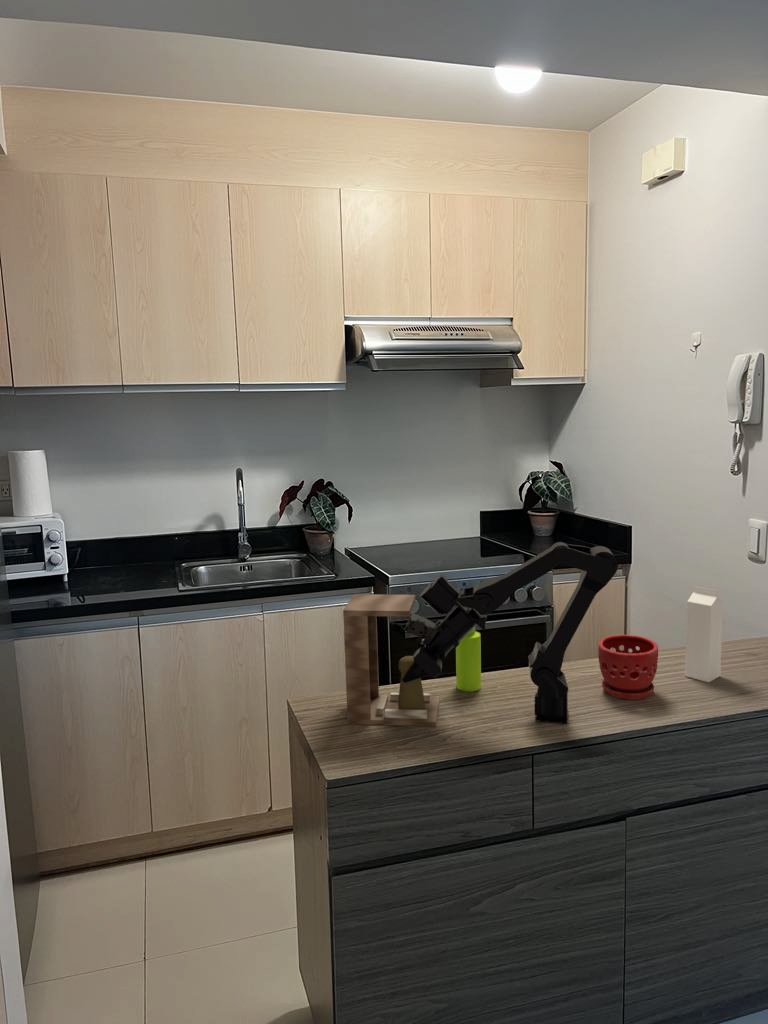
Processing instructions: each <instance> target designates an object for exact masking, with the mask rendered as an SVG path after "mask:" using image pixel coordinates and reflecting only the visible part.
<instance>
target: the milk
mask: <svg viewBox="0 0 768 1024" xmlns="http://www.w3.org/2000/svg"><path fill="white" fill-rule="evenodd" d="M723 613H724V600H723V599H722V598H721V597H719V591H718V590H717V589H712V588H707V587H701V586H696V585H694V586H693V592H692V593H691V595H690V596H689V598H688V600H687V602H686V632H685V633H686V634H685V658H684V659H685V663H684V666H685V667H684V676H685V677H687V678H690V679H695V680H698V681H702V682H705V683H710V682H712V681H714V680H715V679H717V678H719V677H721V668H722V661H721V660H722V644H723V642H722V641H723V618H724V615H723Z"/></svg>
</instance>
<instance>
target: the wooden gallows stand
mask: <svg viewBox="0 0 768 1024" xmlns="http://www.w3.org/2000/svg"><path fill="white" fill-rule="evenodd" d="M415 602H416V594H382V593H381V594H378V593H377V594H372V593H371V594H370V593H369V594H365V593H360V594H359V593H358V594H357V593H356V594H353V595H352V597H351V598H350V600H349V601H348V603H347V604H346V606H345V607H344V608H343V611H342V613H343V614H342V615H343V639H344V662H345V663H344V664H345V686H346V688H345V690H346V716H347V724H349V725H351V724H353V725H377V724H390V725H389V726H409V725H411V726H412V725H415V726H414V727H419V726H420V727H436V726H437V721H438V720H437V719H438V715H439V709H440V703H441V701H440V697H431V693H429V692H428V693H426V692H423V694H424V700H425V707H424V708H422V709H420V710H408V709H400V708H399V707H398V700H399V692H390V694H388V693H385V694H384V693H382V694H381V695H380V683H379V682H380V681H379V655H378V654H379V653H378V651H379V649H378V647H379V646H378V622H377V617H398V618H399V617H403V618H404V617H407V618H408V617H409V618H410V616H411V614H412V611H413V608H414V606H415V604H416V603H415ZM389 695H390V696H389ZM391 724H393V725H391Z"/></svg>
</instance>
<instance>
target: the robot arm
mask: <svg viewBox="0 0 768 1024" xmlns="http://www.w3.org/2000/svg"><path fill="white" fill-rule="evenodd" d="M561 565H563V566H569V567H571V568H574V569H578V570H580V574H579V578H578V579H579V580H578V583H577V585H576V587H575V588H574V590H573V593H572V594H571V596H570V598H569V599H568V602H567V603H566V605H565V607H564V609H563V611H562V613H561V614H560V617H559V619H558V620H557V622H556V624H555V627H554V628H553V629H552V631H551V633H550V635H549V637H548V638H547V640H546V641H545V642H544V643H542V644H541V643H540V642H538V641H536V642H535V643H534V647H533V650H532V652H531V653H530V654H529V655H528V656H527V657H528V668H529V675H530V680H531V682H532V683H533V685H536V687H537V692H535V693H534V715H535V716H536V718H535V720H536V722H541V723H545V722H546V723H553V724H554V723H555V724H568V723H569V722H568V721H569V709H568V705H569V701H568V699H569V697H568V695H569V694H568V692H569V687H568V686H569V685H568V683H567V682H568V681H567V679H566V675H565V673H564V672H563V671H562V666H563V663H564V657H565V653H566V652H567V651H566V650H567V649H568V647H569V645H570V643H571V641H572V639H573V637H574V635H575V634H576V632H577V630H578V628H579V626H580V625H581V623H582V622H583V619H584V617H585V615H586V614H587V612H588V610H589V608H590V607H591V604H592V603H593V601H594V599H595V598H596V595H597V594H598V593H599V592H601V591H602V589H604V588H605V587H606V586H607V585H608V584H609V583H610V582H611V580H612V579H613V577H614V576H615V575H616V573H617V572H618V569H619V562H618V560H617V558H616V557H615V555H614V553H612V551H611V550H610V549H609V548H607V547H606V546H604V545H603V546H602V545H597V546H593V547H588V546H585V545H576V544H569V543H565V542H562V541H557V542H555V543H553V544H552V545H551V546H550V547H548V548H546V549H545V550H544V551H542V552H540V553H537V555H535V556H534V557H532V558H530V559H528V560H526V561H525V562H524V563H522V564H520V565H517V567H515V568H512V570H510V571H508V572H507V573H504V574H501V575H499V576H498V575H497V576H493V577H490V578H488V579H485V580H483V581H480V582H478V583H476V585H474V586H471V587H464V588H463V587H462V588H459V589H457V588H456V587H455V586H454V585H453V584H452V583H451V582H450V581H449V580H448V579H447V577H446V576H445V575H443V574H441V575H439V577H437V578H436V579H434V580H433V581H431V582H429V584H427V586H426V587H425V588H424V589H423V591H422V592H420V594H419V598H420V599H421V600H422V601H423V602H424V603H426V605H428V607H430V608H431V609H432V610H433V611H434V612H435V613H436V614H437V615H440V614H441V615H442V616H443V615H447V614H448V615H447V616H445V618H443V619H438V620H437V621H436V622H433V621H431V620H430V619H428V618H426V617H423V616H421V615H419V614H417V613H414V612H411V614H410V617H409V619H408V620H407V623H406V625H405V628H404V631H405V632H406V633H407V634H410V635H411V634H412V635H413V636H416V637H418V638H417V641H416V646H417V647H416V648H417V649H416V650H415V651H414V652H413V655H412V656H413V659H414V662H413V664H412V665H411V666H410V668H409V669H408V671H407V672H406V673H405V675H404V676H403V678H402V681H403V682H404V683H407V682H410V681H413V680H416V679H419V678H421V679H422V678H425V677H429V676H430V677H431V678H432V679H434V680H435V679H436V678H437V677H438V676H439V675H440V674H441V673H442V668H443V662H442V661H444V660H445V659H446V658H447V655H448V653H449V652H451V651H452V650H453V649H454V648H456V647H457V646H458V645H459V644H460V641H461V640H462V639H463V638H464V637H465V636H466V635H467V634H468V633H469V632H470V631H471V630H472V629H473V628H474V627H475V628H476V626H478V627H479V628H480V629H481V631H486V630H487V619H488V618H487V617H488V615H490V614H492V613H494V612H495V611H497V610H498V608H500V607H501V606H503V604H504V603H506V601H507V600H508V599H509V598H510V597H511V596H512V595H513V594H514V593H516V592H518V591H519V590H520V589H522V588H524V587H526V586H527V585H529V584H531V583H533V582H534V581H536V580H537V579H539V578H541V577H542V576H543V577H544V575H546V574H547V573H549V572H551V571H553V570H556V569H557V568H558V567H560V566H561ZM451 610H452V611H451ZM449 612H450V613H449ZM478 612H479V613H478Z"/></svg>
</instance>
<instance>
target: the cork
mask: <svg viewBox="0 0 768 1024" xmlns="http://www.w3.org/2000/svg"><path fill="white" fill-rule="evenodd" d="M413 662H414V659H413V655H405V656H404V657H401V658H400V659H399V661H398V664H397V665H398V670H399V672H400V673H401V674H400V681H399V682H400V683H399V684H400V685H399V692H398V693H399V700H398V707H399V708H400V709H408V710H420V709H422V708H424V707H425V700H424V694H423V693H424V690H423V683H422V678H419V679H416V680H413V681H410V682H407V683H404V682H403V681H402V678H403V676H404V675H405V673H406V672H407V671H408V669H409V668H410V666H411V665H412V664H413Z"/></svg>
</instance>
